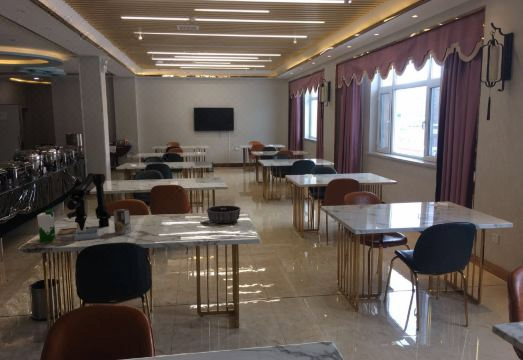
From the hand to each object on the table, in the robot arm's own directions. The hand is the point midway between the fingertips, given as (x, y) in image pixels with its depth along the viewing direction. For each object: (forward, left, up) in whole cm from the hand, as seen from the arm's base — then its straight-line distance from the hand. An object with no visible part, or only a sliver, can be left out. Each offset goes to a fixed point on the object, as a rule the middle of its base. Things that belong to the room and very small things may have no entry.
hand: (82, 229), depth 293 cm
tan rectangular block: (0, 0, -1) cm, 1 cm away
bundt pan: (-100, -13, -6) cm, 101 cm away
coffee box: (-26, -3, -5) cm, 27 cm away
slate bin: (-3, 0, -5) cm, 6 cm away
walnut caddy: (+7, -16, -5) cm, 18 cm away
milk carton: (+21, +2, -5) cm, 22 cm away
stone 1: (+3, -16, -5) cm, 17 cm away
